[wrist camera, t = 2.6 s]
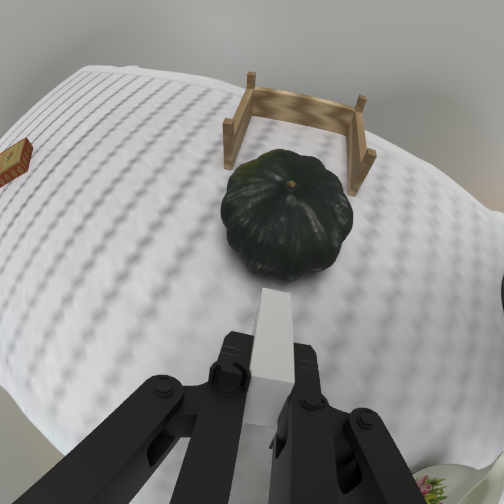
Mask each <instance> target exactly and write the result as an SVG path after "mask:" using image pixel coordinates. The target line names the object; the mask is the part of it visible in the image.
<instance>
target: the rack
mask: <svg viewBox="0 0 504 504" xmlns="http://www.w3.org/2000/svg"><path fill="white" fill-rule="evenodd" d="M255 74H256V73H255V72H248V74H247V89H246V91H245V93H244V95H243V97H242V99H241V102H240V104H239V106H238V108H237V110H236V112H235V115H234V117H233V119H228V118H225V120H224V122H223V144H224V169H228V170H232V169H233V166H234V163H235V160H236V158H237V155H238V152H239V149H240V146H241V144H242V141H243V138H244V135H245V132H246V130H247V127H248V124H249V122H250V119H251V116H252V115H253V116H259V117H266V118H271V119H277V120H282V121H288V122H293V123H297V124H302V125H307V126H311V127H316V128H320V129H324V130H328V131H332V132H336V133H340V134H343V135H346V140H347V167H348V195H352V196H355V195H356V194H357V192H358V190H359V188H360V187H361V185H362V183H363V181H364V179H365V177H366V176H367V174H368V172H369V170H370V168H371V166H372V164H373V163H374V161H375V159H376V157H377V155H376V150H372V149H369V148H368V149H367V148H366V139H365V132H364V125H363V118H362V111H363V108H364V106H365V103H366V100H367V99H366V97H365V96H362V95H359V97H358V100H357V103H356V106H355V108H354V107H351V106H347V105H344V104H340V103H336V102H332V101H329V100H325V99H320V98H316V97H312V96H307V95H302V94H297V93H293V92H287V91H282V90H276V89H270V88H263V87H256V86H255Z"/></svg>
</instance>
